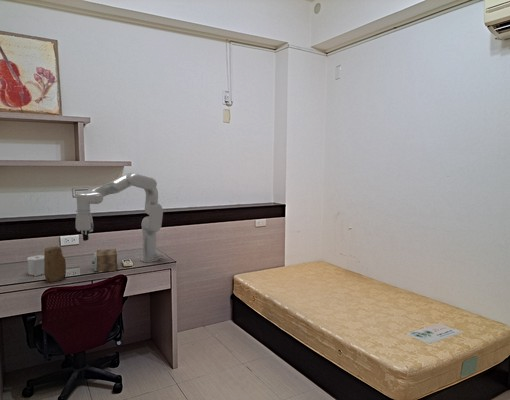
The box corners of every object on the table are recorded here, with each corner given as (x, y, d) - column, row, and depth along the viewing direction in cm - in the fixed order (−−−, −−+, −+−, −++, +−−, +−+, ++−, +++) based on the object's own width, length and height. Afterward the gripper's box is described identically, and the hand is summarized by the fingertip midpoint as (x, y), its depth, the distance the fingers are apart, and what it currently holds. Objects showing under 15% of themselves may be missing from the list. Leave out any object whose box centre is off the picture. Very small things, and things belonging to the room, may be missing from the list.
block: (46, 283, 218) (45, 249, 216) (44, 279, 224) (42, 247, 221) (67, 279, 225) (66, 247, 223) (63, 276, 231) (62, 244, 228)
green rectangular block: (96, 264, 253) (96, 250, 252) (96, 270, 240) (96, 256, 239) (92, 264, 252) (91, 251, 251) (92, 271, 239) (91, 256, 238)
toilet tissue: (43, 269, 243) (42, 254, 241) (51, 273, 235) (50, 258, 234) (25, 273, 234) (24, 257, 233) (32, 277, 227) (32, 261, 226)
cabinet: (116, 264, 257) (115, 248, 256) (117, 270, 245) (116, 254, 243) (97, 266, 253) (96, 250, 251) (97, 272, 240) (96, 255, 238)
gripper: (69, 212, 237) (71, 241, 240) (90, 213, 234) (92, 242, 237) (77, 210, 244) (79, 238, 247) (97, 211, 241) (99, 239, 244)
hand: (85, 240), depth 242 cm, fingers closed
